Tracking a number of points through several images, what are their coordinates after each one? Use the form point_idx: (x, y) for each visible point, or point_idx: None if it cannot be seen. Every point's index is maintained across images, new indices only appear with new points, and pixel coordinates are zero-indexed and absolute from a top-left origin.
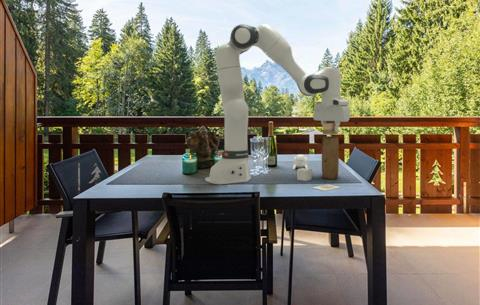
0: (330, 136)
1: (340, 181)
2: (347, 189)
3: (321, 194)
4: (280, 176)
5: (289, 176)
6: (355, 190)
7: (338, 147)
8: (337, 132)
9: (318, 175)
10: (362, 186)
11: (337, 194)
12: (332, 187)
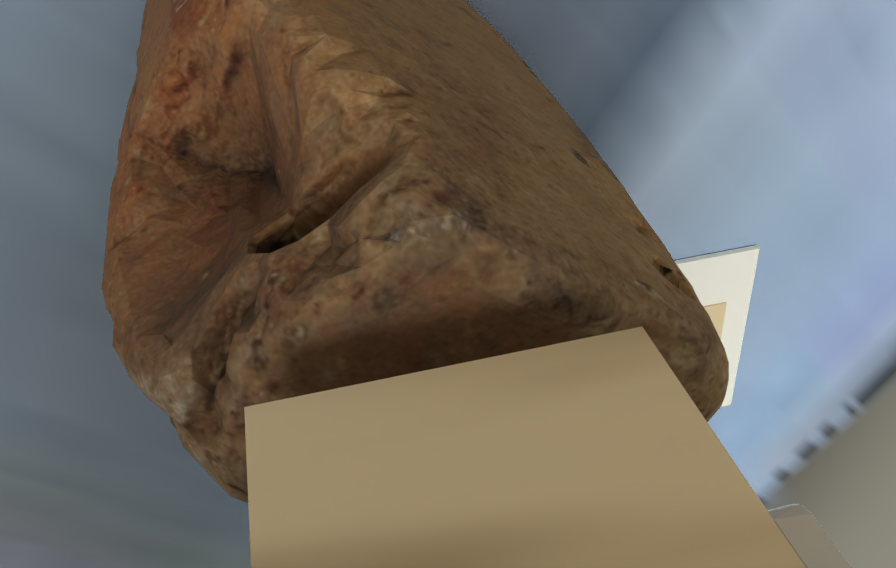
0: (358, 378)
1: (579, 67)
2: (825, 231)
3: (765, 452)
4: (7, 469)
5: (44, 397)
6: (892, 197)
7: (650, 228)
8: (666, 383)
9: (123, 72)
10: (876, 32)
11: (844, 373)
12: (721, 317)
